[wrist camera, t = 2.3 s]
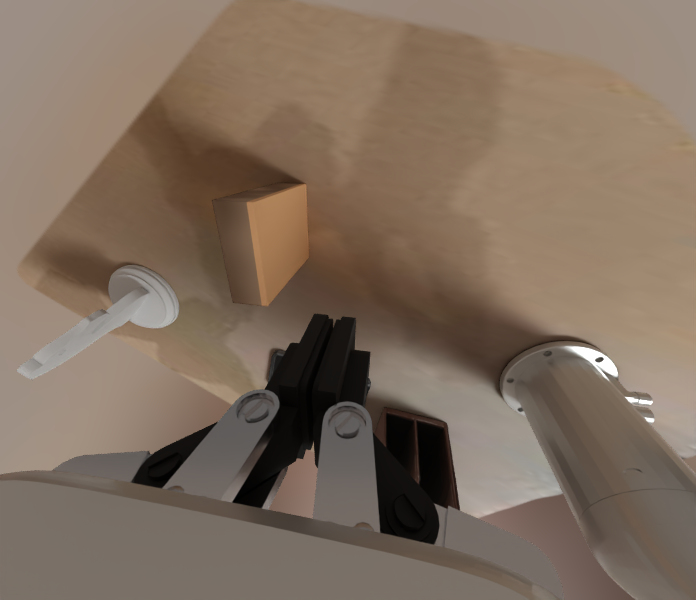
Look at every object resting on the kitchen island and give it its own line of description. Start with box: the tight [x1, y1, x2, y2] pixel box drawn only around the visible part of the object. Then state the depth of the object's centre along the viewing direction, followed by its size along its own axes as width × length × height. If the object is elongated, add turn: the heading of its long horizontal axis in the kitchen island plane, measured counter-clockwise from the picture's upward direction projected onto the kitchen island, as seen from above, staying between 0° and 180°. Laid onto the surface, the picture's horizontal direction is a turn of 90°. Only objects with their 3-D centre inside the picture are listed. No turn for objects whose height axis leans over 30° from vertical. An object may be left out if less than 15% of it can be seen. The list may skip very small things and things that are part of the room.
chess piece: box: [17, 265, 179, 379], centre depth 33 cm, size 10×10×15 cm
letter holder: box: [375, 407, 460, 511], centre depth 41 cm, size 10×20×14 cm, turn 170°
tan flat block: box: [212, 183, 309, 306], centre depth 26 cm, size 3×8×12 cm, turn 179°
